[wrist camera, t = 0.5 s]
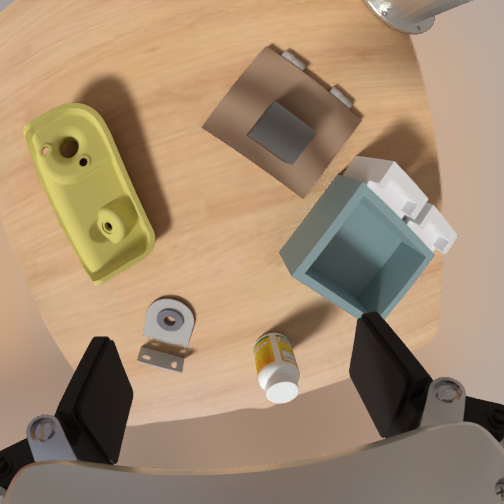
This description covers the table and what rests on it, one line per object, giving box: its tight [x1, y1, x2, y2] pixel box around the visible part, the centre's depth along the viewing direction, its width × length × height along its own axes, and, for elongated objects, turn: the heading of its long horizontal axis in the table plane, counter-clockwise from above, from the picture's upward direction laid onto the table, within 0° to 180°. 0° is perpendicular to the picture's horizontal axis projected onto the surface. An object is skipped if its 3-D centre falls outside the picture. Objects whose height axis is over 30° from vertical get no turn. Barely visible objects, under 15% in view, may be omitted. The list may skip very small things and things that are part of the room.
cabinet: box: [279, 156, 458, 319], centre depth 33 cm, size 15×14×9 cm
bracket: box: [137, 298, 194, 373], centre depth 38 cm, size 7×10×4 cm, turn 161°
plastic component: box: [24, 103, 155, 286], centre depth 30 cm, size 20×7×10 cm
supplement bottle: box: [254, 333, 300, 403], centre depth 38 cm, size 5×5×10 cm
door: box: [202, 46, 362, 199], centre depth 29 cm, size 13×14×6 cm
